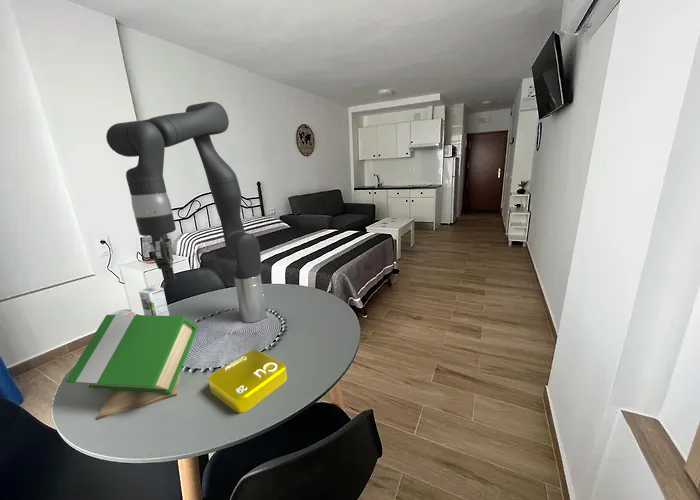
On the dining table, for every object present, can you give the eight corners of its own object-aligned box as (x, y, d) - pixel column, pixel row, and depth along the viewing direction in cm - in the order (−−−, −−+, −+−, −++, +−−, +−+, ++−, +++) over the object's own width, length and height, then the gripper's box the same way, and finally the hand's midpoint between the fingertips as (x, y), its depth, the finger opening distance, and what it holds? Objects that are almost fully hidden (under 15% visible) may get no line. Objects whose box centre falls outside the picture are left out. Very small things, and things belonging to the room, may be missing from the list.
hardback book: (152, 386, 68) (64, 381, 71) (171, 393, 74) (89, 388, 77) (183, 316, 79) (106, 314, 82) (198, 327, 84) (125, 325, 88)
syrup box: (146, 327, 109) (137, 291, 105) (161, 319, 114) (153, 285, 110) (157, 329, 107) (147, 293, 103) (171, 322, 112) (163, 286, 108)
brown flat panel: (181, 364, 86) (181, 362, 86) (176, 395, 74) (175, 393, 74) (115, 382, 80) (114, 380, 80) (97, 419, 67) (97, 417, 67)
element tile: (256, 360, 87) (254, 346, 86) (290, 379, 78) (288, 363, 77) (207, 390, 75) (204, 375, 74) (241, 417, 67) (238, 399, 65)
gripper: (168, 214, 64) (185, 287, 69) (174, 209, 76) (188, 271, 81) (127, 218, 62) (147, 294, 66) (140, 212, 73) (157, 276, 78)
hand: (170, 281), depth 73 cm, fingers closed
